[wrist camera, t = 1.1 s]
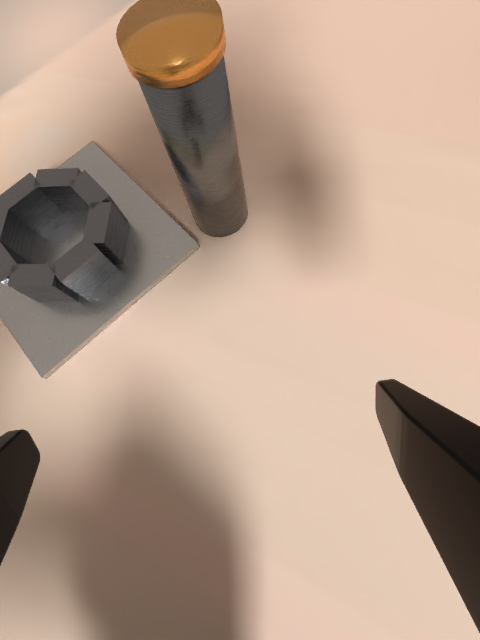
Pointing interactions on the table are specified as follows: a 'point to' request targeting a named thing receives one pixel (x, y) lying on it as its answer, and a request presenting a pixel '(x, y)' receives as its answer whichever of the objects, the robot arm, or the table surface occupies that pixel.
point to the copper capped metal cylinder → (189, 102)
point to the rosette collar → (79, 254)
